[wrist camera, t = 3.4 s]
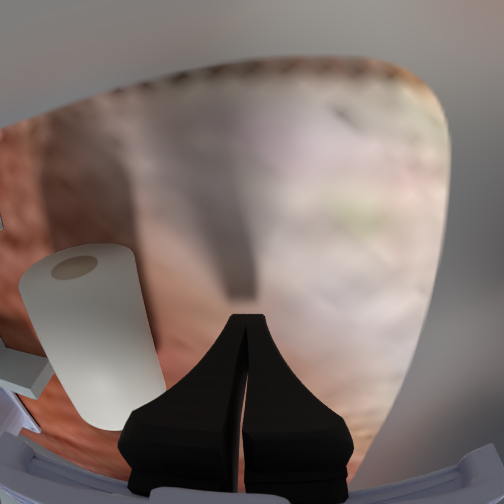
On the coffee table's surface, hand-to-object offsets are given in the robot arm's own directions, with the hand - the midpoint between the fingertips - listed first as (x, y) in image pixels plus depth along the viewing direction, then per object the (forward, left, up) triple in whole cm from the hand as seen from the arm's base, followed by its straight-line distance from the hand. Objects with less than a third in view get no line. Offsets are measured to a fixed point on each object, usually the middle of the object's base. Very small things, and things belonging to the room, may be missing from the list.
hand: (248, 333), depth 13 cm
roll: (-7, 0, +1) cm, 7 cm away
